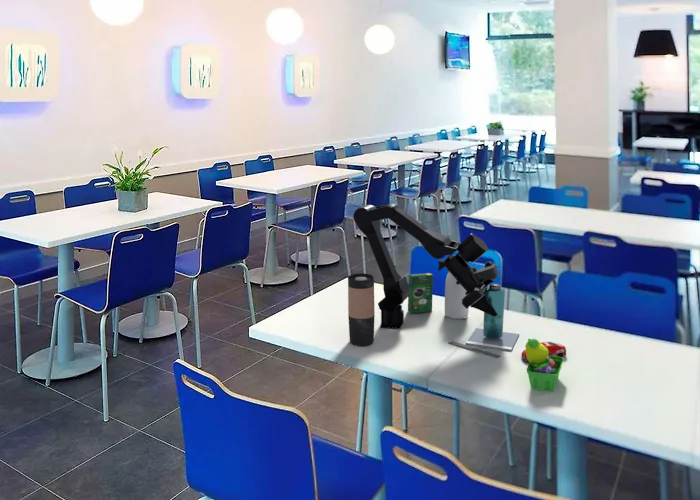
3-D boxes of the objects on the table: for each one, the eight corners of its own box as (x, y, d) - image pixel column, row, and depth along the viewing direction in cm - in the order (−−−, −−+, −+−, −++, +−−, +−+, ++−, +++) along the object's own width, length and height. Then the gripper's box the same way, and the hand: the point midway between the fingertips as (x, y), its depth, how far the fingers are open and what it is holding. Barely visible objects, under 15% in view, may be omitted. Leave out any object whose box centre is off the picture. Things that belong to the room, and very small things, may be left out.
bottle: (490, 339, 177) (493, 289, 173) (479, 333, 182) (481, 284, 178) (506, 336, 179) (509, 286, 176) (494, 330, 184) (497, 281, 181)
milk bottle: (468, 320, 197) (470, 260, 193) (443, 318, 199) (445, 259, 194) (468, 312, 205) (470, 254, 200) (445, 310, 206) (446, 253, 202)
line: (448, 343, 179) (448, 342, 179) (451, 341, 180) (451, 340, 180) (497, 357, 168) (497, 356, 168) (500, 356, 170) (500, 355, 169)
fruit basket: (557, 395, 147) (560, 351, 144) (519, 388, 151) (522, 345, 148) (562, 375, 157) (565, 334, 155) (527, 370, 161) (529, 329, 158)
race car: (528, 366, 164) (529, 352, 163) (516, 358, 169) (517, 344, 168) (569, 358, 168) (570, 344, 167) (556, 350, 173) (557, 337, 172)
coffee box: (429, 308, 209) (430, 271, 205) (433, 311, 206) (433, 274, 203) (407, 311, 206) (407, 274, 203) (410, 314, 204) (411, 276, 200)
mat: (465, 344, 178) (465, 342, 178) (476, 329, 189) (476, 327, 189) (511, 351, 173) (511, 349, 173) (519, 335, 184) (519, 333, 184)
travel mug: (378, 339, 183) (378, 274, 178) (368, 348, 176) (367, 281, 171) (355, 335, 186) (354, 272, 181) (344, 344, 179) (343, 279, 174)
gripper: (474, 263, 168) (513, 306, 167) (489, 247, 185) (524, 287, 183) (446, 287, 173) (483, 329, 172) (462, 270, 190) (497, 308, 188)
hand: (498, 312), depth 178 cm, fingers closed on bottle, 5 cm apart
